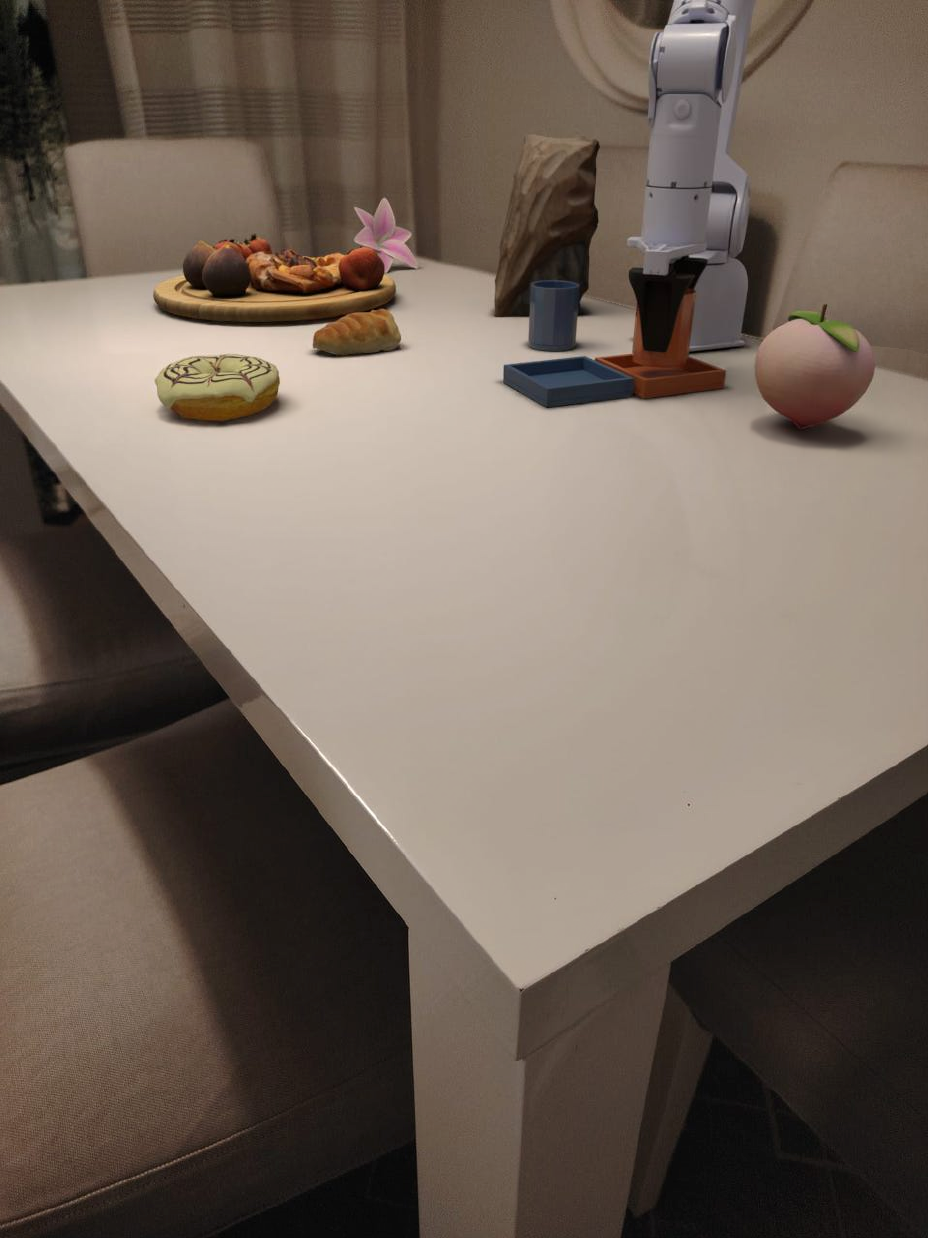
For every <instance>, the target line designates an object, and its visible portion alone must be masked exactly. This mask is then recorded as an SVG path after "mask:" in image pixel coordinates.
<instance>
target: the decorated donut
mask: <svg viewBox="0 0 928 1238" xmlns="http://www.w3.org/2000/svg"><path fill="white" fill-rule="evenodd" d="M280 380H281V379H280V371H279V369H278V368H277V366H276V365H275V364H274V363H271V362H270V361H266V360H264V359H262V358H260V357H258V356H257V357H255V356H249V355H244V354H238V353H237V354H236V353H225V354H216V355H194V356H189V357H186V358H183V359H180V360H176V361H174V362H171V363H170V364H167V365H166V366H165V367H163V368H162V369H160V371H159V373H158V375H157V376H156V377H155V378H154V383H155V385H156V390H157V391H156V394H157V397H158V399H159V402H160V403H161V404H162V405H163V406H165V407H166V408H168V409H170V410H171V411H173V412H175V413H177V414H178V415H180V417H181V418H183V419H186V420H187V419H188V420H189V419H192V420H197V421H205V422H206V421H216V422H224V421H227V420H228V421H229V420H235V419H239V418H243V417H248V416H252V415H253V414H259V413H262V412H263V411H264V410H265V409H266V408H267V409H268V407H269V406H270V405H271V404H272V403H273V402H274V401H275V400H276V399H277V397H278V393H279V387H280V385H281V381H280Z"/></svg>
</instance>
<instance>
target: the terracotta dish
mask: <svg viewBox="0 0 928 1238" xmlns="http://www.w3.org/2000/svg"><path fill="white" fill-rule="evenodd" d="M632 355H633V353H625V354H616V355H608V356H607V355H606V356H598V357H594V360H595V361H597V362H599V363H602V364H604V365H606V366H608V367H610V368H613V369H615V370H617V371H619V372H622V373H624V374H626V375H628V376H630V377H633V378H634V388H633V395H635V396H637V397H639V398H642V399H651V398H659V397H667V396H674V395H675V396H676V395H682V394H689V393H696V392H704V391H712V390H713V391H714V390H720V389H724V388H725V381H726V375H727V370H726V369H724V368H721V367H718V366H717V365H713V364H711V363H709V362H705V361H702V360H700V359H698V358H695V357H692V356H690V355H688V358H687V363H686V364H685V365H682V366H678V367H669V368H660V367H649V366H644V365H640V364H637V363H635V362H633V360H632Z"/></svg>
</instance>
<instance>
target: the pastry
mask: <svg viewBox="0 0 928 1238" xmlns="http://www.w3.org/2000/svg"><path fill="white" fill-rule="evenodd" d="M401 341H402V334H401V332H400V329H399V326H398V324H397V322H396V321H395V317H394V315H393V314H392V313H391V312H390V311H389V310H387V309H384V308H379V309H376V310H374V309H371V311H369V312H365V311H363V312H356V313H351V314H345V315H343V316H341V317H340V318H339V319H337V320H336V321H334V322H333V321H332V322H329V323H326V325H325V326H323V327H321V328H320V329H318V330H316V331H315V332H314V335H313V337H312V348H313V349H317V350H321V351H323V352H326V353H329V354H332V355H333V354H334V355H335V356H339V355H341V356H343V357H345V356H347V355H360V354H365V353H366V354H372V353H378V352H380V351H384V352H389V351H392V350H395V349H397V348H399V344H400V343H401Z"/></svg>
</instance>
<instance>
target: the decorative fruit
mask: <svg viewBox="0 0 928 1238" xmlns="http://www.w3.org/2000/svg"><path fill="white" fill-rule="evenodd" d="M827 307H828V304H827V303H824V304H823V305H822V308H821V313H820V312H817V311H810V310H808V311H806V310H795V311H793V312H792V313H790V314H789V315H788V318H787V321H788V322H785V323H783V324H781V325H780V326H777V327H776V328H775V329H774V330H771V332H770V333H768V334H767V336H766V337H765V338H764V339H763V341H762V342H761V343H760V345H759V347H758V349H757V352H756V354H755V358H754V377H755V383H756V386H757V389H758V392H759V394H760V396H761V398H762V399H763V400H764V402H766V403H767V405H768V406H769V407H770V408H772V409H773V410H774V411H775V412H777V413H778V414H779V415H781V416H783V417H785V418H786V419H788V420H789V421H791V422H793V423H794V424H795V425H796V426H797V428H798V429H807V428H811V427H814V426H817V425H820V424H823V423H826V422H829V421H831V420H833V419H835V418H838V417H839V416H841V415H843V414H844V413H846V412H847V411H849V410H850V409H851V408H852V407H853V406H855V405H856V404H857V402H859V401H860V399H861V398H863V396H864V395H865V393H866V392H867V390H868V389H869V387H870V385H871V383H872V381H873V378H874V375H875V370H876V359H875V355H874V351H873V348H872V346H871V345H870V343H869V341H868V340H867V338H866V337H865V336H864V335H863V334H862V333H861V332H860V331H858V330H857V329H856V328H854V327H853V326H852V325H850V324H849V323H846V322H843V321H839V320H829V319H827V317H826V316H825V315H826V311H827Z"/></svg>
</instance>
